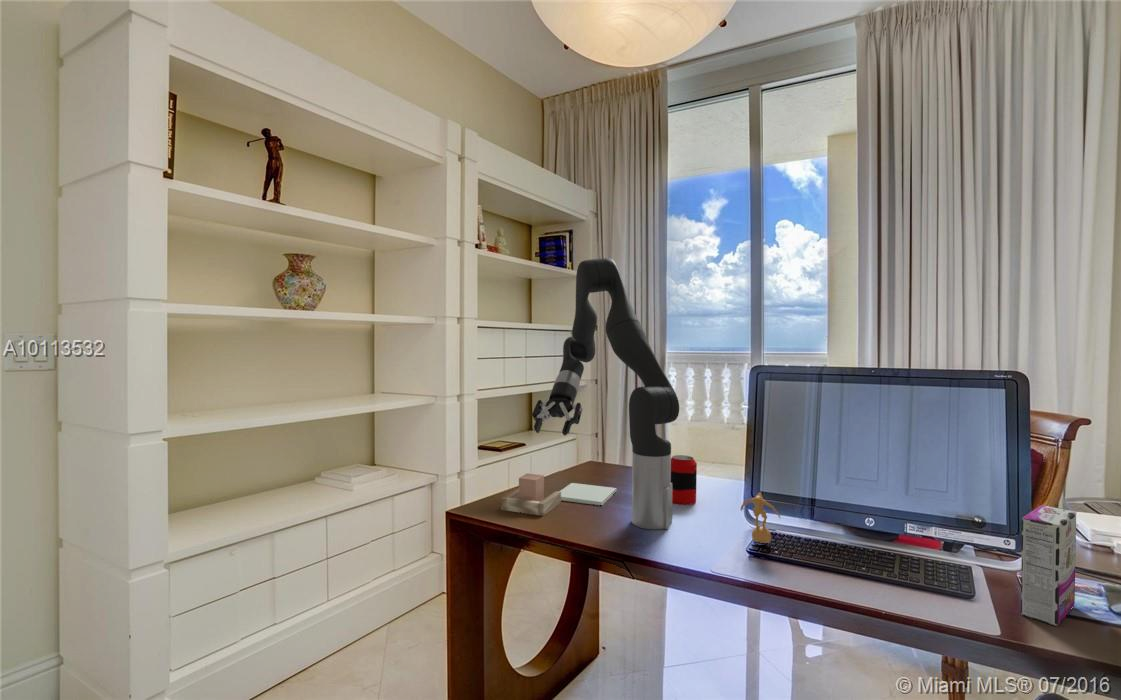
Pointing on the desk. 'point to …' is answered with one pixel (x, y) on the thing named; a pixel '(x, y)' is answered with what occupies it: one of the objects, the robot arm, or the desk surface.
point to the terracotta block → (531, 487)
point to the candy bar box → (1048, 564)
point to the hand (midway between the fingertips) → (550, 432)
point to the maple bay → (530, 503)
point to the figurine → (759, 532)
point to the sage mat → (587, 493)
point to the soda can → (683, 479)
